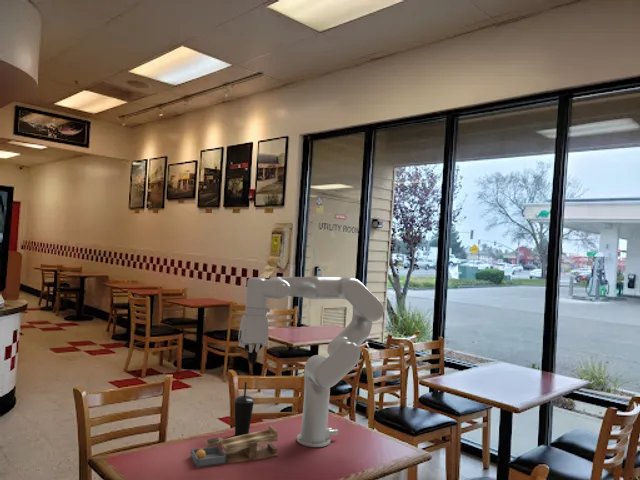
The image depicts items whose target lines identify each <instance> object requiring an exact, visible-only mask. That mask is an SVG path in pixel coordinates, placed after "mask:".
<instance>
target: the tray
mask: <svg viewBox="0 0 640 480" xmlns="http://www.w3.org/2000/svg"><path fill="white" fill-rule="evenodd" d="M200 449H202V450H204V451H205V453H206V456H205V458H202V459H198V457H197V455H196V452H197V451H198V450H200ZM223 451H224V450H223V448H221V447H220V446H219V445H215V446H209V447H208V446H207V447H201V448H192V449H190V458H191V460H192V462H193V463H194V466H195V467H196V469H198V468H205V467H211V466H220V465H226V464H227V463H226V455H225V453H224V452H223Z"/></svg>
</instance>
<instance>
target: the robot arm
mask: <svg viewBox="0 0 640 480" xmlns="http://www.w3.org/2000/svg"><path fill="white" fill-rule="evenodd" d="M246 284H247V285H246V296H245V309H244V314H242V317H241V319H240V324H239V329H238V347H240V348H243V349H246V351H247V361H248V363H249V364H250V365H252V364H253V365H255V364H256V363H257V360H258V353H259V352H260V350H261V349H262V348H265V347H267V346H268V341H269V333H270V332H269V330H270V329H269V328H270V327H269V319H268V315H267V313H270V312H271V310H270V308H268V306H267V304H268V299H273V300H278V301H279V300H284V299H286V298H288V297H297V298H305V299H309V300H347V302H348V303H350V305H351V306H352V319H351V321H350V323H349V324H348V325H347V326H346V327H345V328H344V329H343V330H342V331H341V332H339V334H337V335H336V336H335V337H334V338H333V339H332V340H331V341H330V342H329V343H328V346H327V349H326V350H327V354H328V356H327V357H325V356H323V355H320V354H315V355H312V356H310V357H309V358H308V359H307V360H306V362H305V365H304V373H303V374H304V378H303V379H304V393H303V404H302V406H303V407H302V416H301V417H302V419H301V432H300V433H299V434H297V436H296V441H297V442H298V443H299V444H300V445H302V446H304V447H309V448H322V447H326V446H329V445H330V444H331V436H337V435H339V429H334V428H332V427H328V421H329V409H330V408H329V407H330V406H329V405H330V394H331V393H330V392H331V389H330V388H332V387H334V386H336V385H337V384H338V383H339V382H340V381H341V380H343V378H344V377H345V376H347V374H348V373H350V372H351V371H352V370H353V369H354V367H356V365H358V362H360V361H359V360H360V357H361V350H360V347H361V346H362V344H363V343H364V342H365V341H366V339H368V337H369V335H370V333H371V331H372V326H373V322H377V321H379V320H381V318H382V317H383V316H384V311H385V309H384V305H383V303H382V301H381V300H379V298H378V297H377V296H375V295H374V294H373V293H372V292H371V291H370V290H369V289H368V288H367V287H366V286H365V284H363V283H362V282H361V281H360V280H359V279H357V278H354V277H349V276H272V277H270V278H269V279H267V278H264V277H254V276H253V277H249V278H248V279H247V283H246Z"/></svg>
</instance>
